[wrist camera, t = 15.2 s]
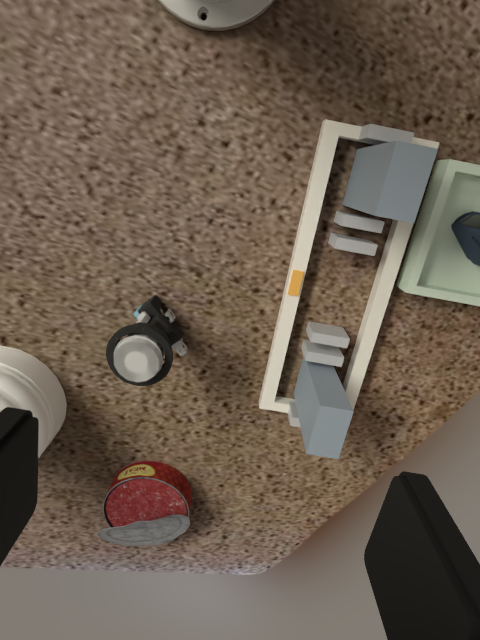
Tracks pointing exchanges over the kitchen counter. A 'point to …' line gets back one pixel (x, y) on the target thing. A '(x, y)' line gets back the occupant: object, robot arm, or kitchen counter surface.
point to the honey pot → (32, 392)
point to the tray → (443, 237)
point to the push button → (145, 345)
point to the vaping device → (469, 235)
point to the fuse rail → (367, 196)
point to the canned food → (146, 505)
